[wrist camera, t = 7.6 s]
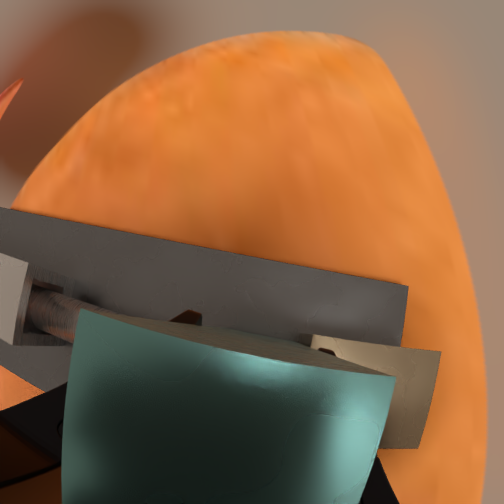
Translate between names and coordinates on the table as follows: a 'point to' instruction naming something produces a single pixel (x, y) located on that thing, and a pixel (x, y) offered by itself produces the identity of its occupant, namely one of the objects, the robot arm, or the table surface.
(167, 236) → the table surface
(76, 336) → the sliding bolt with handle
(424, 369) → the sleeve and socket
